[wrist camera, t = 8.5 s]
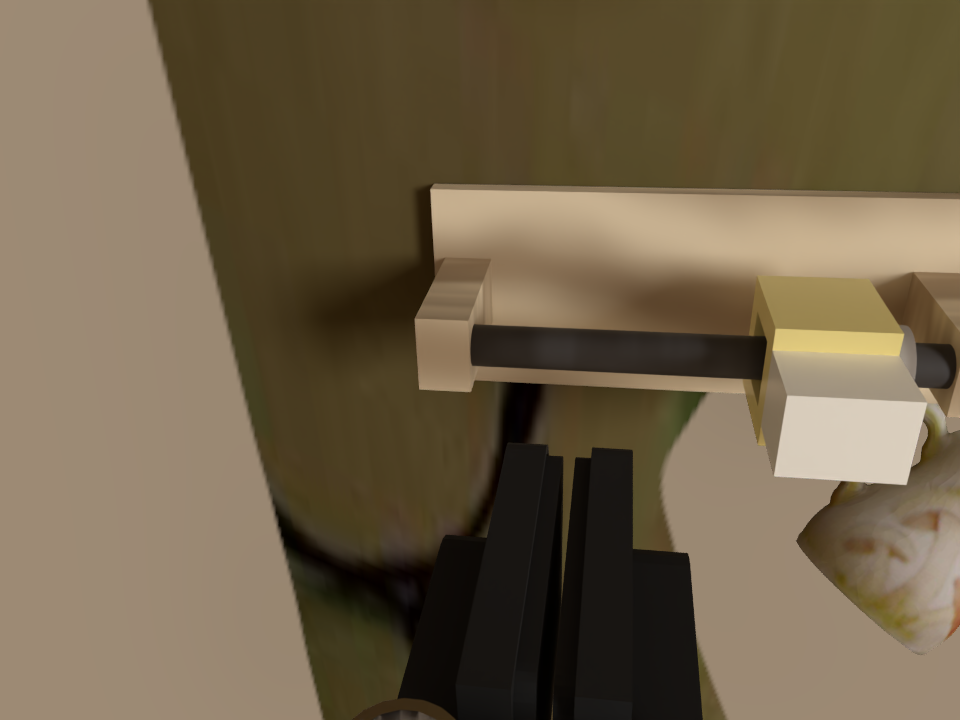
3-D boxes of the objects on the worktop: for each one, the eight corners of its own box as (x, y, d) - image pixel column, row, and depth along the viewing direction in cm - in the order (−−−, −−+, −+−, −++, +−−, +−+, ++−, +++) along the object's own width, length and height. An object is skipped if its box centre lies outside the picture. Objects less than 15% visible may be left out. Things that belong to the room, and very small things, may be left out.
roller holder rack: (434, 183, 36) (392, 245, 30) (992, 193, 33) (1080, 264, 27) (443, 370, 41) (409, 459, 34) (939, 394, 37) (1005, 497, 31)
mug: (1066, 451, 38) (1087, 678, 33) (861, 485, 45) (852, 675, 40) (982, 367, 35) (990, 604, 30) (775, 418, 42) (754, 615, 37)
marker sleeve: (757, 275, 32) (791, 372, 26) (869, 278, 32) (933, 379, 25) (742, 381, 34) (770, 496, 28) (847, 387, 34) (901, 505, 27)
